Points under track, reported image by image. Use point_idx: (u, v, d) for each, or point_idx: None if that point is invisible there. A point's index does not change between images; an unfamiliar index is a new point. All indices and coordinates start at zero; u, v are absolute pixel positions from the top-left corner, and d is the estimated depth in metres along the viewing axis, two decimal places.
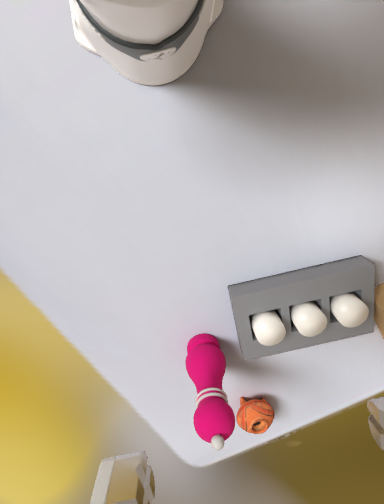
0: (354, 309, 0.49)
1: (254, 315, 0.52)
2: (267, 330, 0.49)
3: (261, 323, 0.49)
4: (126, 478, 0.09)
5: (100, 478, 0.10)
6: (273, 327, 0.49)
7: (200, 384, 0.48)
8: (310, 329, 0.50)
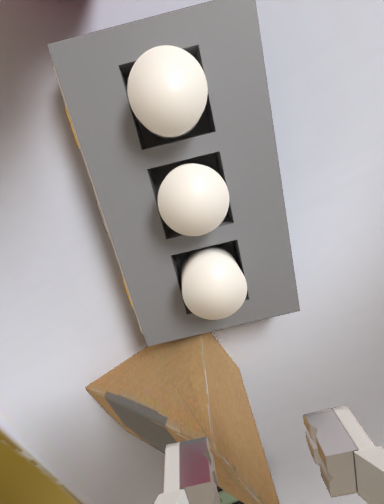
0: (229, 288, 0.23)
1: None
2: (179, 79, 0.18)
3: (196, 63, 0.19)
4: (196, 463, 0.09)
5: (168, 464, 0.10)
6: (188, 96, 0.19)
7: None
8: (180, 198, 0.21)
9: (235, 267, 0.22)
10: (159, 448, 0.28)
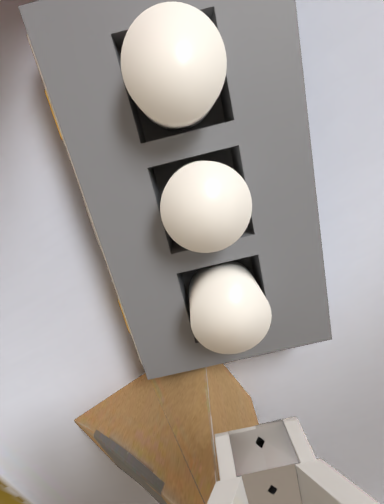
0: (249, 316, 0.18)
1: None
2: (188, 48, 0.14)
3: (212, 27, 0.14)
4: (249, 451, 0.09)
5: (221, 452, 0.09)
6: (200, 71, 0.14)
7: None
8: (189, 205, 0.16)
9: (257, 291, 0.18)
10: None
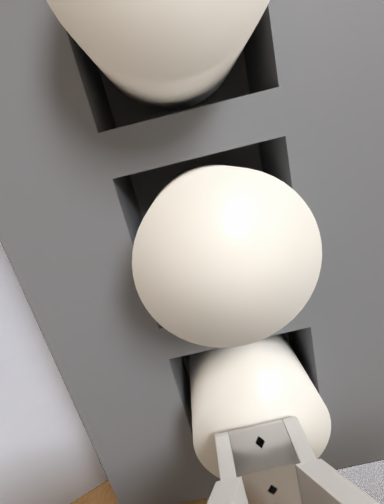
0: None
1: None
2: None
3: None
4: (249, 451, 0.09)
5: (221, 452, 0.09)
6: None
7: None
8: (193, 259, 0.08)
9: (309, 392, 0.10)
10: None
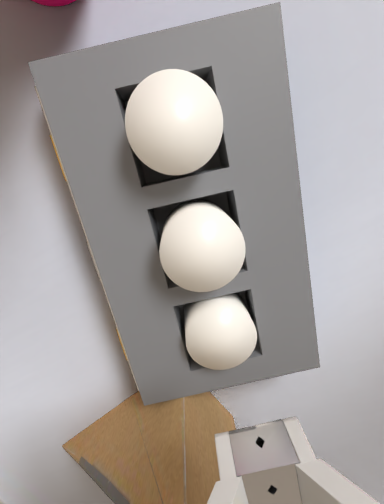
0: (237, 337, 0.21)
1: None
2: (188, 110, 0.15)
3: (210, 90, 0.15)
4: (249, 451, 0.09)
5: (221, 452, 0.09)
6: (199, 130, 0.15)
7: None
8: (186, 249, 0.17)
9: (244, 315, 0.20)
10: None
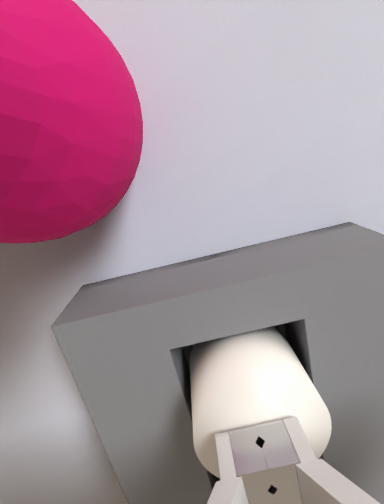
0: None
1: (277, 333, 0.13)
2: None
3: (312, 386, 0.11)
4: (249, 451, 0.09)
5: (221, 452, 0.09)
6: None
7: None
8: None
9: None
10: None
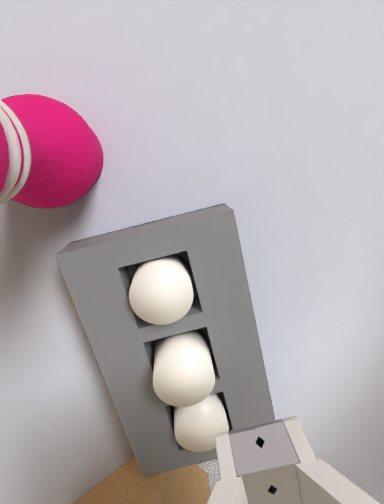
0: (213, 428, 0.27)
1: (177, 257, 0.26)
2: (170, 287, 0.23)
3: (184, 272, 0.23)
4: (249, 451, 0.09)
5: (221, 452, 0.09)
6: (177, 298, 0.23)
7: None
8: (172, 380, 0.24)
9: (218, 413, 0.27)
10: None
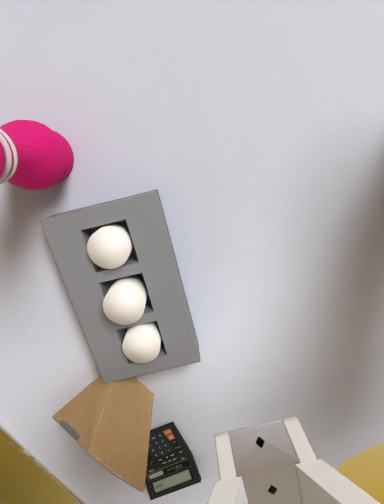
0: (149, 346, 0.39)
1: (124, 226, 0.38)
2: (114, 243, 0.35)
3: (123, 234, 0.35)
4: (249, 451, 0.09)
5: (221, 452, 0.09)
6: (119, 251, 0.35)
7: (11, 137, 0.26)
8: (115, 305, 0.36)
9: (152, 334, 0.39)
10: None
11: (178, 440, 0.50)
